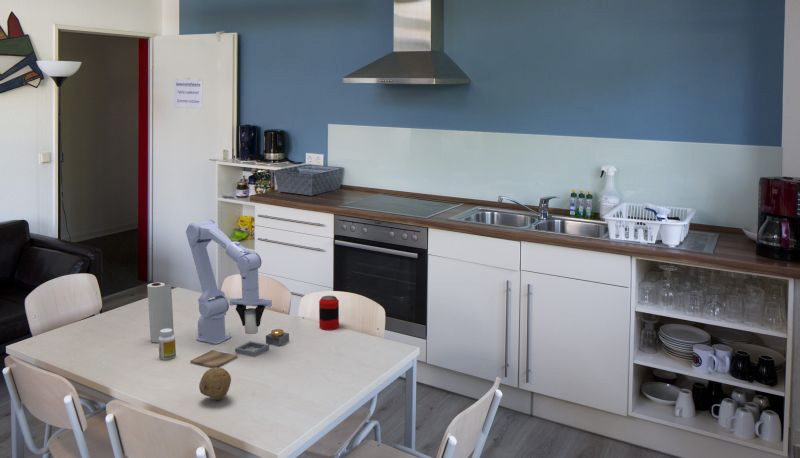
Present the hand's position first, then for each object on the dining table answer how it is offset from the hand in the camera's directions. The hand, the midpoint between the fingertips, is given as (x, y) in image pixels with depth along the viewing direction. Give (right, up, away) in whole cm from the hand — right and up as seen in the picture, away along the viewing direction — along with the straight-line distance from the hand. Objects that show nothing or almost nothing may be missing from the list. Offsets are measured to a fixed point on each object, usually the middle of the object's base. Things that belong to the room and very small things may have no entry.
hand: (251, 325), depth 241 cm
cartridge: (0, -2, 0) cm, 2 cm away
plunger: (+7, -7, +10) cm, 14 cm away
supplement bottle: (-28, -10, -5) cm, 30 cm away
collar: (0, -9, +2) cm, 9 cm away
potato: (-2, -17, -37) cm, 41 cm away
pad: (-11, -11, -7) cm, 17 cm away
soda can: (+25, -5, +27) cm, 37 cm away
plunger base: (+7, -8, +10) cm, 15 cm away
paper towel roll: (-36, -7, +11) cm, 38 cm away
